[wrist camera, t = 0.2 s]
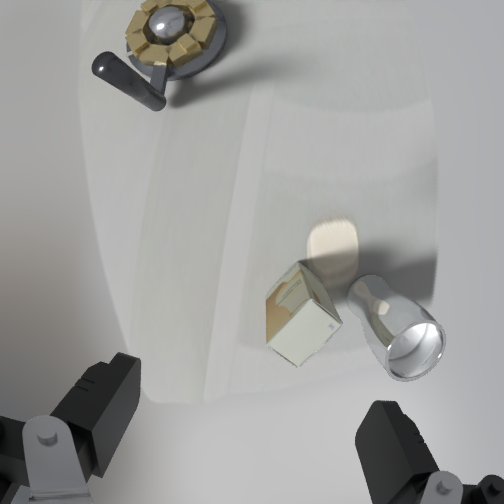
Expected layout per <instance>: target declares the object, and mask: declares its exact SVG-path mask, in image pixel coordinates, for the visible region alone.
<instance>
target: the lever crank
mask: <svg viewBox="0 0 504 504" xmlns="http://www.w3.org/2000/svg"><path fill="white" fill-rule="evenodd" d="M141 5H142V6H141V8H142V10H143V11H138V10H137V11H136V12H135V14H134V16H133V18H132V20H131V22H130V24H129V26H128V28H127V30H126V32H125V33H126V34H127V35H128V36H127V37H125V39H126V41H127V43H128V45H129V47H130V48H131V50H132V52H133V54H134V56H135V57H136V58H137V59H138V60H139V61H140V62H141V63H143V64H144V65H145V66H152V67H153V71H152V76H151V81H150V83H149V82H147V81H146V80H145V79H144V78H143V77H141V76H140V75H139V74H138V73H137V72H135V71H134V70H133V69H132V68H131V67H129V66H128V65H127V64H126V63H125V62H123V61H122V60H121V59H120V58H118V57H117V56H116V55H115V54H114V53H112V52H109V51H108V52H103V53H101V54H100V55H98V56H97V57H96V58H95V60H94V61H93V64H92V72H93V74H94V75H96V76H98V77H99V78H101V79H103V80H104V81H106V82H108V83H109V84H111V85H113V86H114V87H116V88H118V89H119V90H121V91H122V92H124V93H126V94H127V95H129V96H131V97H132V98H134V99H135V100H137V101H139V102H140V103H142V104H143V105H145V106H146V107H148V108H150V109H151V110H153V111H160V110H162V109H163V108H164V107H165V105H166V98H165V96H164V93H165V88H166V83H167V78H168V73H169V69H172V67H173V64H174V65H175V66H176V67H177V68H179V67H180V66H182V65H184V64H186V63H188V62H190V61H192V60H193V59H195V58H197V57H199V56H201V55H203V54H204V53H203V51H202V49H205V50H208V49H209V46H210V44H211V42H212V39H213V37H214V35H215V32H216V30H217V28H218V26H217V23H218V22H217V19H216V15H215V13H214V11H213V10H212V8H211V7H210V6H209V4H208V3H207V1H206V0H147V1H145V2H144V3H142V4H141ZM164 7H176V8H178V9H179V10H180V11H181V12H182V14H189V15H192V16H193V18H194V19H195V22H194V24H193V26H192V29H191V31H190V33H189V35H188V34H187V33H186V34H184V35H183V36H182V37H180V38H179V39H177V42H175V43H173V44H171V45H170V46H163V45H155V44H151V42H150V41H149V39H148V37H149V35H150V33H151V31H152V30H151V29H150V27H149V20H150V18H151V16H152V15H153V14H154V13H155V12H156V11H158V10H159V9H161V8H164Z"/></svg>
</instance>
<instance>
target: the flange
mask: <svg viewBox="0 0 504 504" xmlns="http://www.w3.org/2000/svg"><path fill="white" fill-rule="evenodd" d="M206 1H207V3H208V4H209V6H210V7H211V8H212V10H213V11H214V13H215V15H216V19H217V22H218V23H217V26H218V28H217V30H216V32H215V35H214V37H213V39H212V42H211V44H210V46H209V49H208V50H205V49H202V51H203V53H204V54H203V55H201V56H199V57H197V58H195V59H193V60H192V61H190V62H188V63H186V64H184V65H182V66H180V67H179V68H177V67H176V66H175V65H174V64H173V67H172V69H169V73H168V78H167V81H174V80H180V79H184V78H187V77H190V76H192V75H195V74H197V73H199V72H200V71H202V70H204V69H205V68H206V67H208V66H209V65H210V64H211V63H212V62H213V61H214V60H215V59H216V58H217V57H218V55H219V54H220V52H221V51H222V49H223V47H224V44H225V41H226V36H227V29H226V24H225V20H224V17H223V14H222V13H221V11H220V10H219V9H218V7H217V6H215V5H214V4H213V3H211V2H210V1H208V0H206ZM194 22H195V19H194V18H193V16H192V15H189V14H182V12H181V11H180V10H179V9H178V8H176V7H164V8H161V9H159V10H158V11H156V12H155V13H154V14H153V15H152V16H151V18H150V20H149V27H150V29H151V30H152V31H151V33H150V35H149V37H148V39H149V41H150V42H151V44H155V45H163V46H170V45H171V44H173V43H175V42H177V39H179V38H180V37H182V36H183V35H184V34H186V33H187V34H188V35H189V33H190V31H191V29H192V26H193V24H194ZM126 57H129V59H130V61H131V63H132V64H133V65H134V66H135V67H136V68H137V69H138V70H139V71H140V72H141V73H143V74H144V75H146V76H148V77H150V78H151V76H152V71H153V67H152V66H145V65H144V64H143V63H141V62H140V61H139V60H138V59H137V58H136V57H135V56H134V54H133V52H132V50H131V48H130V47H129V45H128V43H127V53H126Z"/></svg>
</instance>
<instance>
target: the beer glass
mask: <svg viewBox="0 0 504 504" xmlns="http://www.w3.org/2000/svg"><path fill="white" fill-rule="evenodd" d="M347 305H348V308H349V310H350V311H351V312H352V314H354V315H355V316H356V317H358V318H359V319H360V321H361V324H362V328H363V332H364V335H365V338H366V341H367V343H368V345H369V347H370V349H371V351H372V353H373V354H374V356H375V357H376V359H377V360H378V361H379V362H380V364H381V365H382V366H383V367H384V369H385V370H386V371H387V373H388V374H389V376H390V377H392V378H393V379H395V380H397V381H402V382H408V381H413V380H416V379H418V378H420V377H422V376H424V375H426V374H427V373H428V372H429V371H431V370H432V369H433V368H434V367H435V366H436V364H437V363H438V362H439V360H440V358H441V357H442V354H443V352H444V349H445V345H446V335H445V331H444V329H443V327H442V326H441V325H440V324H439V323H438V322H437V321H436V320H435V319H434V318H433V317H432V315H431V314H430V313H429V312H428V311H427V310H426V309H425V308H424V307H422V306H421V305H420V304H419V303H417V302H416V301H415V300H413V299H411V298H409V297H407V296H405V295H403V294H400V293H397V292H395V291H392V290H391V289H390V288H389V286H388V284H387V283H386V281H385V280H384V279H383V278H381V277H380V276H377V275H365V276H362V277H360V278H359V279H357V280H356V281H355V282H354V283H353V284H352V285H351V287H350V289H349V291H348V294H347Z"/></svg>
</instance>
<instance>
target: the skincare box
mask: <svg viewBox="0 0 504 504" xmlns="http://www.w3.org/2000/svg"><path fill="white" fill-rule="evenodd" d="M341 327H343V323H342V321H341V319H340V317H339V315H338V313H337V311H336V309H335V307H334V305H333V303H332V301H331V299H330V297H329V295H328V293H327V291H326V289H325V287H324V285H323V283H322V282H321V280H320V279H318V278H317V277H316V276H315V275H314V274H313V273H312V272H311V271H310V270H308V269H307V268H306V267H305V266H304V265H302V264H301V263H300V262H296V263H295V264H294V265H293V266H292V267H291V268H290V269H289V270H288V271H287V272H286V274H285V275H284V276H283V277H282V278H281V279H280V280H279V281H278V282H277V283H276V285H275V286H274V287H273V288H272V289H271V290H270V291H269V293H268V294H267V295H266V345H267V346H268V347H270V348H271V349H272V350H273V351H275V352H276V353H277V354H279V355H280V356H281V357H283V358H284V359H285V360H287V361H288V362H289V363H291V364H292V365H294V366H295V367H296V368H299V367H301V366H302V365H303V364H304V363H305V362H306V361H307V360H308V359H309V358H310V357H312V356H313V355H314V354H315V353H316V352H317V351H318V350H319V349H320V348H322V346H323V345H324V344H325V343H326V342H327V341H328V340H329V339H330V338H331V337H332V336H333V335H334V334H335V333H336V332H337V331H338V330H339V329H340V328H341Z"/></svg>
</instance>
